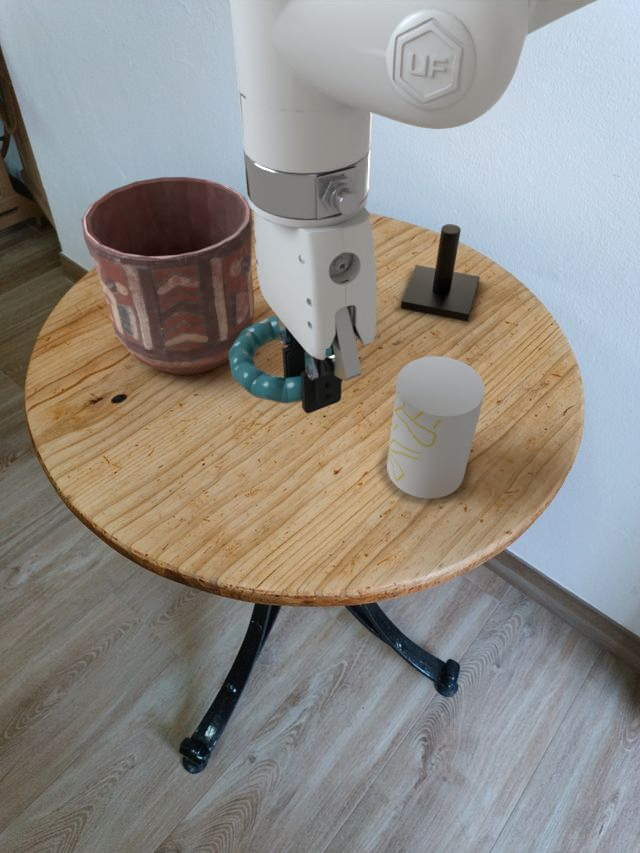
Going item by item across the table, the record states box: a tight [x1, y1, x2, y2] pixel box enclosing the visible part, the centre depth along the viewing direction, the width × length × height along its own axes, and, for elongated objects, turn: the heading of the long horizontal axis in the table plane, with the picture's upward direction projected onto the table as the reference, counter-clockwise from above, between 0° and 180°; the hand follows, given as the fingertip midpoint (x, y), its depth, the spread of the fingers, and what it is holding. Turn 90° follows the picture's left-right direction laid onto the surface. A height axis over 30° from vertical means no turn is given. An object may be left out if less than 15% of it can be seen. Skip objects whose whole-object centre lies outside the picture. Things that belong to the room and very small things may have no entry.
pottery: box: [80, 176, 255, 376], centre depth 80 cm, size 18×18×18 cm
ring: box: [228, 315, 344, 405], centre depth 57 cm, size 10×10×2 cm
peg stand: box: [400, 223, 481, 322], centre depth 90 cm, size 9×9×10 cm
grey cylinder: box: [386, 355, 486, 500], centre depth 68 cm, size 8×8×12 cm
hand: (312, 392), depth 55 cm, fingers closed on ring, 2 cm apart
